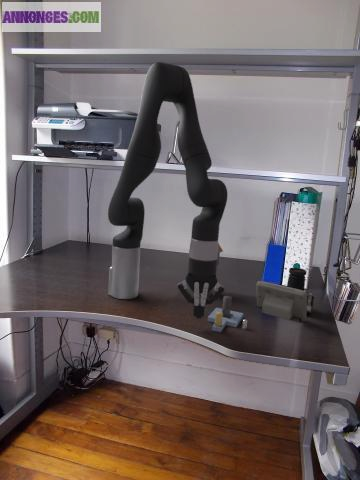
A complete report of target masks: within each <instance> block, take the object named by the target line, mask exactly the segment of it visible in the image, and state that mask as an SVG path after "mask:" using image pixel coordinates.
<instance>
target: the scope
mask: <svg viewBox="0 0 360 480" xmlns="http://www.w3.org/2000/svg"><path fill="white" fill-rule="evenodd" d="M288 273H289V274H288V279H287V284H286V287H290V288H294V289H298V290H302V291H305V286H306V285H305V284H306V275H307V270H305V269H304V268H300V267H289V269H288ZM314 299H315V296H314V295H313V293H308V295H307V316H308V317H311V316H312V312H313V306H314V304H315V301H314Z"/></svg>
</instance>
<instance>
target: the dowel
mask: <svg viewBox="0 0 360 480" xmlns="http://www.w3.org/2000/svg"><path fill="white" fill-rule="evenodd" d="M247 326H248V319H246V318H242V326H241V328H242V330H247V328H248V327H247Z"/></svg>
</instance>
